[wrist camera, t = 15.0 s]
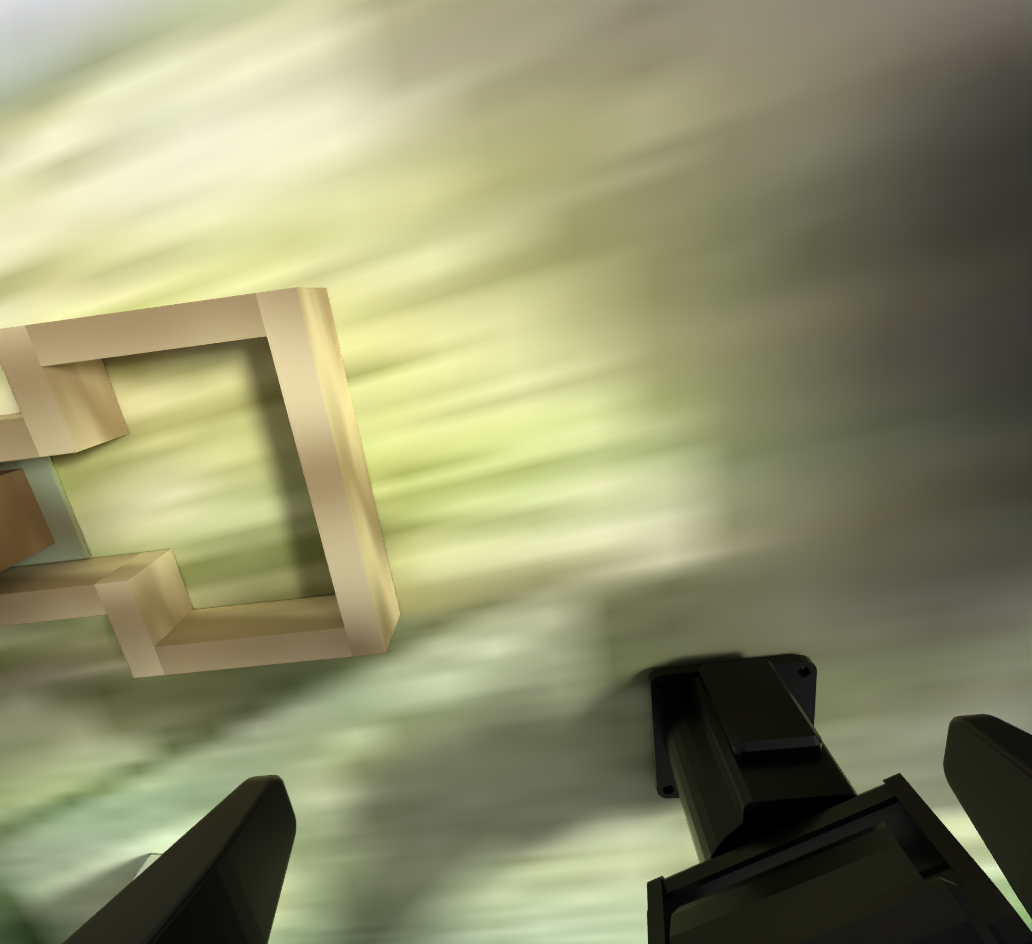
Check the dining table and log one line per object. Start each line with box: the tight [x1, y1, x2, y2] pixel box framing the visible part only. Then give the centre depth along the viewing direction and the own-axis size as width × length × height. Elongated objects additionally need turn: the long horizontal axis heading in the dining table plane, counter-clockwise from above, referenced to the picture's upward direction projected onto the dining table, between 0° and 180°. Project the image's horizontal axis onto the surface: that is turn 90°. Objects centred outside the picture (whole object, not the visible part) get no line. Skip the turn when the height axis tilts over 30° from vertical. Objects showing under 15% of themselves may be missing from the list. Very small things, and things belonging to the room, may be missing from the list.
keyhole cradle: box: [0, 287, 400, 678], centre depth 19 cm, size 12×18×2 cm
